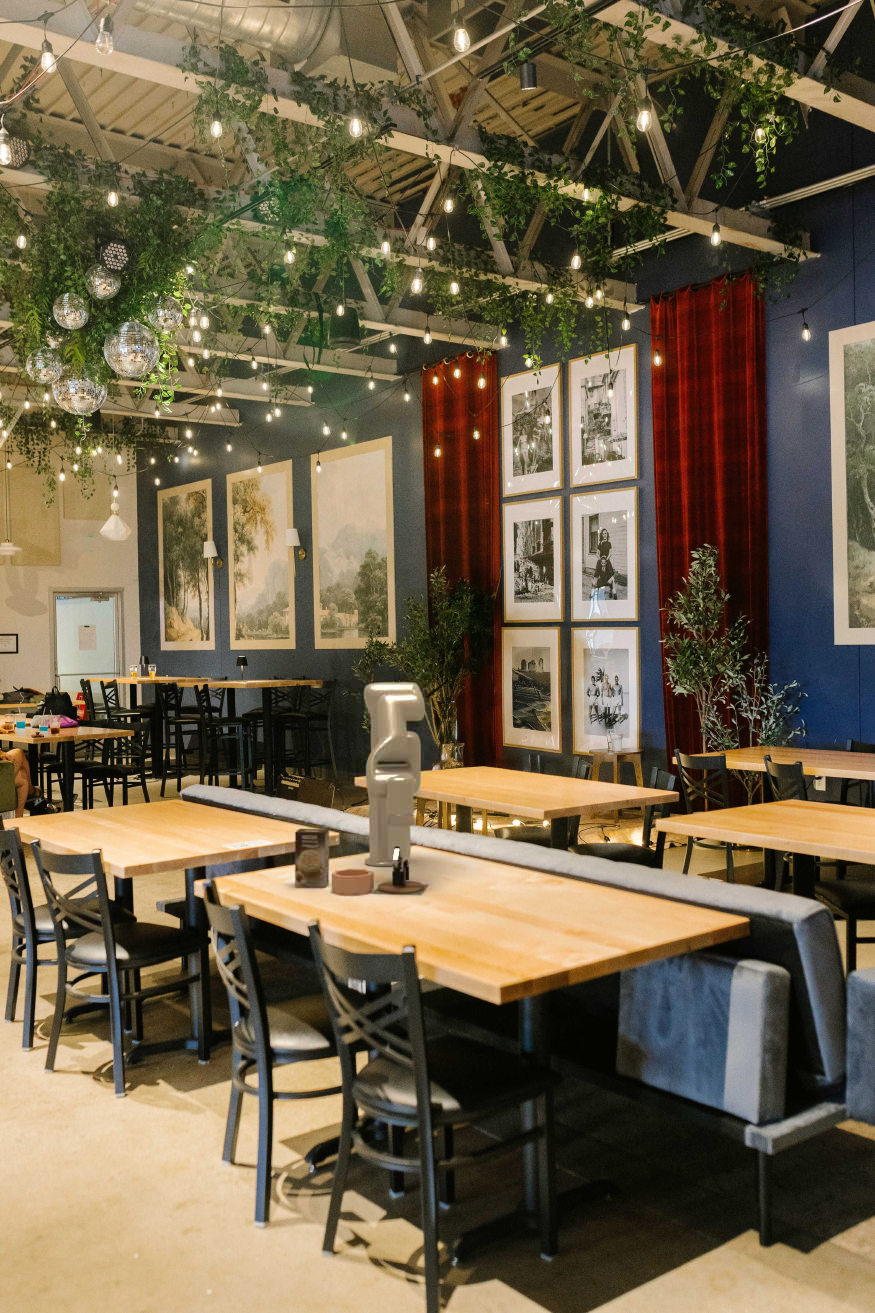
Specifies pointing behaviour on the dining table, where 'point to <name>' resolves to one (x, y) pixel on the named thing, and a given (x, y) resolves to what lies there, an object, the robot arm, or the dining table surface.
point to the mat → (402, 894)
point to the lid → (401, 887)
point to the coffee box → (312, 858)
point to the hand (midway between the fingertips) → (400, 882)
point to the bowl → (352, 882)
